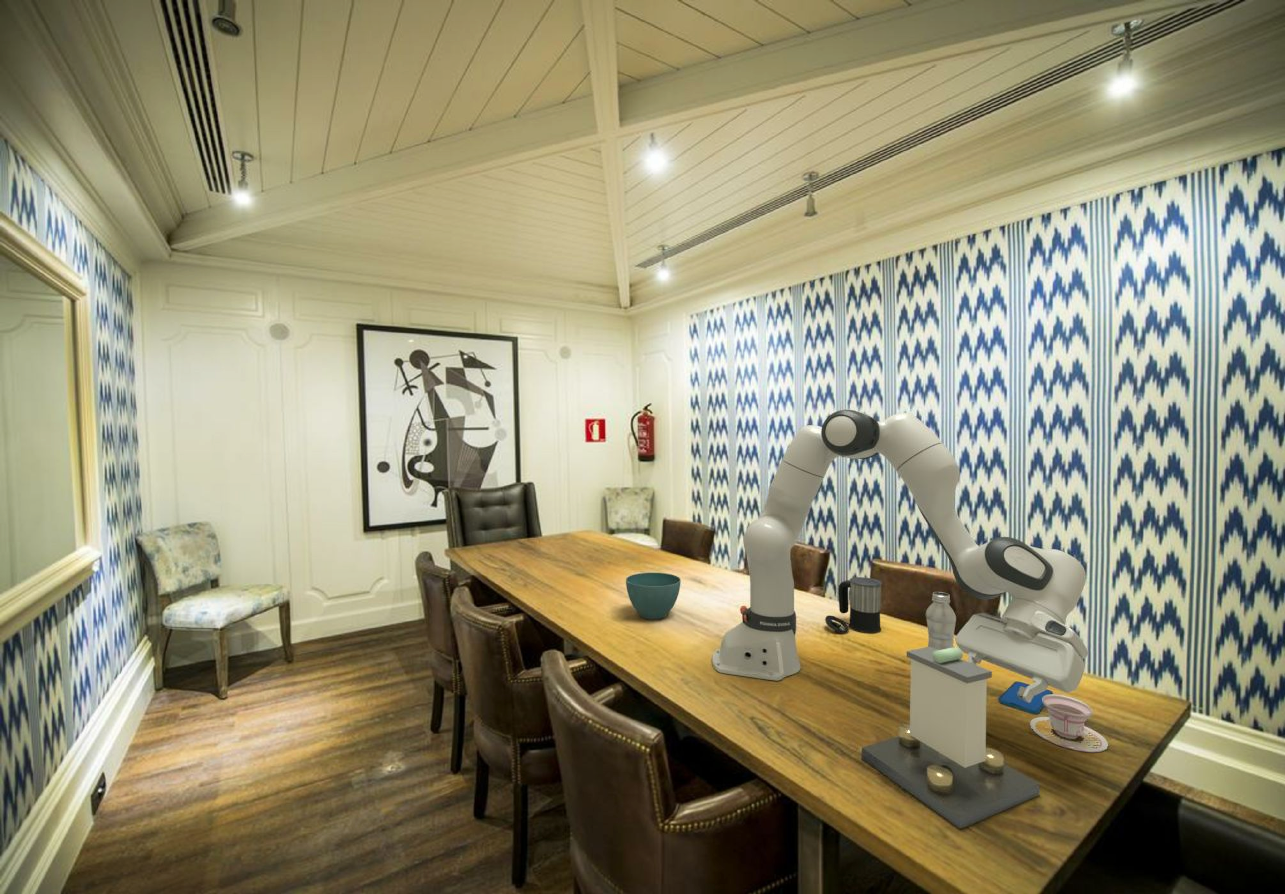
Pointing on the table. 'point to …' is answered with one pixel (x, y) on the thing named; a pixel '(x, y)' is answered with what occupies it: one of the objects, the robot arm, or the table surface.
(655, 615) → the plant pot
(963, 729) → the instrument head
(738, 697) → the table surface
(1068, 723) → the teacup
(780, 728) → the table surface
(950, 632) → the plastic bottle
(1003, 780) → the base
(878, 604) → the milk frother
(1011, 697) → the smartphone
